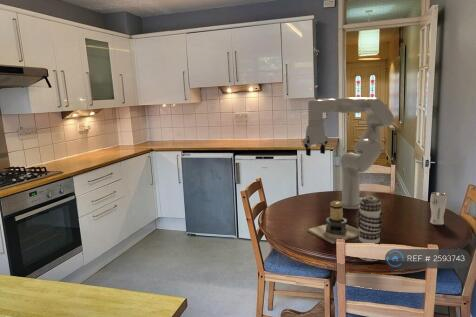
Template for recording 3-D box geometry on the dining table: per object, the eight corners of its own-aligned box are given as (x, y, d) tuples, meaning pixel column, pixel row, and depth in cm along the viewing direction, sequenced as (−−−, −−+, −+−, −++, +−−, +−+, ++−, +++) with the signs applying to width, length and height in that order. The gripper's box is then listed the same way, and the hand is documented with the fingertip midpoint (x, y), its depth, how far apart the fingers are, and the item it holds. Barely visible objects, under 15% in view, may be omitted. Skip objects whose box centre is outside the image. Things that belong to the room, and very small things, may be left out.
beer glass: (443, 221, 182) (445, 192, 179) (446, 226, 176) (448, 196, 173) (428, 219, 185) (429, 191, 182) (430, 224, 178) (432, 195, 175)
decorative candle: (364, 249, 154) (365, 193, 150) (385, 256, 147) (387, 197, 143) (352, 256, 148) (353, 198, 144) (373, 263, 141) (375, 202, 137)
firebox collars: (337, 225, 179) (337, 215, 178) (350, 231, 171) (350, 220, 170) (322, 229, 175) (322, 218, 174) (335, 236, 167) (335, 224, 166)
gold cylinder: (336, 227, 177) (337, 200, 174) (345, 231, 172) (345, 203, 169) (327, 230, 174) (327, 202, 172) (335, 233, 169) (336, 205, 167)
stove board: (339, 222, 186) (339, 221, 185) (365, 234, 170) (365, 232, 170) (307, 230, 177) (307, 229, 177) (332, 243, 161) (332, 241, 161)
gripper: (323, 121, 200) (323, 151, 203) (298, 123, 193) (298, 155, 196) (332, 122, 194) (332, 153, 197) (306, 124, 186) (307, 157, 189)
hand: (315, 154), depth 196 cm, fingers open, 9 cm apart
